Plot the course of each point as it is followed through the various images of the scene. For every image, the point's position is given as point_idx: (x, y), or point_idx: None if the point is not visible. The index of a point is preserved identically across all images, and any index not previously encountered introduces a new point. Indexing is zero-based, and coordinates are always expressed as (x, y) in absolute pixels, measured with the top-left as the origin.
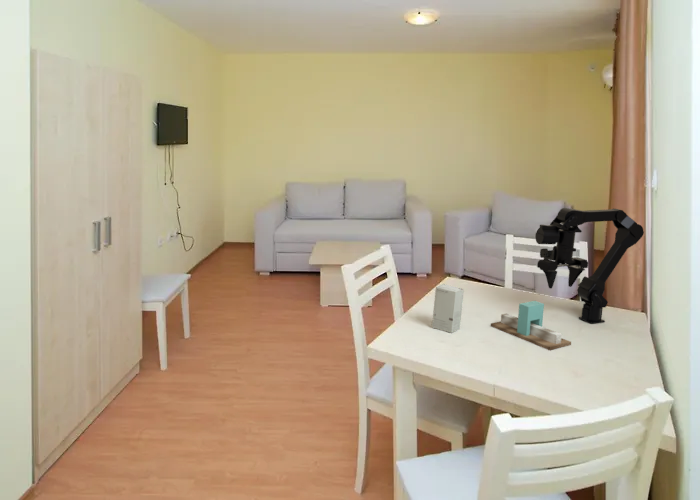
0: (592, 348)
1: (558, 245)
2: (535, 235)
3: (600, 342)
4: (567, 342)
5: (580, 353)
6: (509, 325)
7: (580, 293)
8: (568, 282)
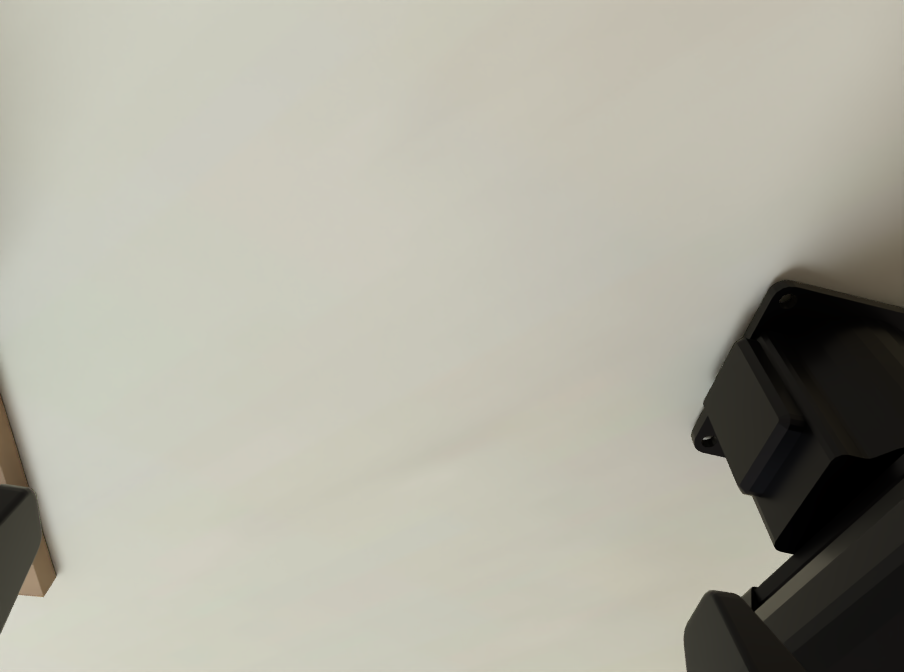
0: (159, 662)
1: None
2: None
3: (312, 645)
4: None
5: (9, 661)
6: None
7: (868, 559)
8: (742, 667)
